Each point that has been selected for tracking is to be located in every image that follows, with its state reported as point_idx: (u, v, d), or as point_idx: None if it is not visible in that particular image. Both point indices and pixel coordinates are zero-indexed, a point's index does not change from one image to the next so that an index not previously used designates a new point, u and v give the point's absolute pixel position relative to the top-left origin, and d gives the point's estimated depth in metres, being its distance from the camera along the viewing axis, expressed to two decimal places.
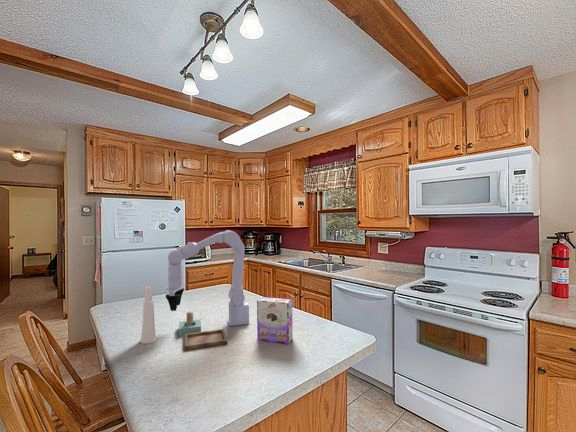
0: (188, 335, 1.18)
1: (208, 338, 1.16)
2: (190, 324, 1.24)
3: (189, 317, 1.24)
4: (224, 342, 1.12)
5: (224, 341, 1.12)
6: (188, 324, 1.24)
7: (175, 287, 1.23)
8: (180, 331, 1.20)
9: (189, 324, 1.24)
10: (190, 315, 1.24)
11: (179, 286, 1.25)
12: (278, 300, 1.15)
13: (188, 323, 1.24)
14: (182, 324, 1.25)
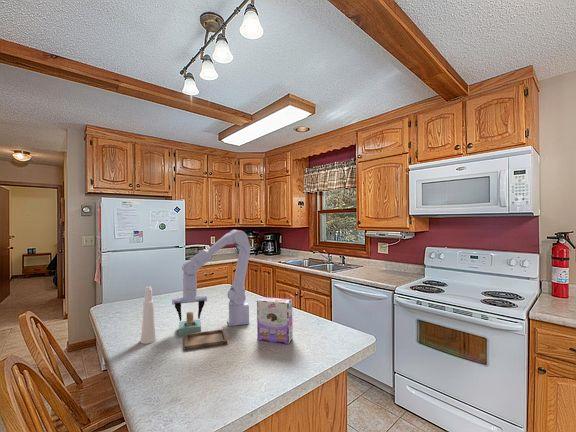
0: (188, 335, 1.18)
1: (208, 338, 1.16)
2: (190, 324, 1.24)
3: (189, 317, 1.24)
4: (224, 342, 1.12)
5: (224, 341, 1.12)
6: (188, 324, 1.24)
7: (183, 297, 1.24)
8: (180, 331, 1.20)
9: (189, 324, 1.24)
10: (190, 315, 1.24)
11: (185, 298, 1.23)
12: (278, 300, 1.15)
13: (188, 323, 1.24)
14: (182, 324, 1.25)
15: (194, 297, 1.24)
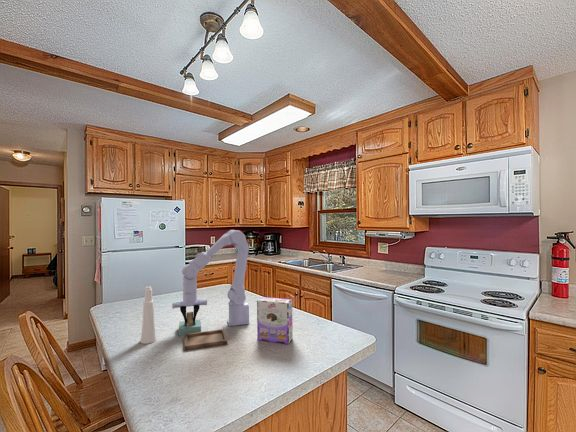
0: (188, 335, 1.18)
1: (208, 338, 1.16)
2: (190, 324, 1.24)
3: (189, 317, 1.24)
4: (224, 342, 1.12)
5: (224, 341, 1.12)
6: (188, 324, 1.24)
7: (183, 301, 1.24)
8: (180, 331, 1.20)
9: (189, 324, 1.24)
10: (190, 315, 1.24)
11: (185, 302, 1.23)
12: (278, 300, 1.15)
13: (188, 323, 1.24)
14: (182, 324, 1.25)
15: (194, 301, 1.24)
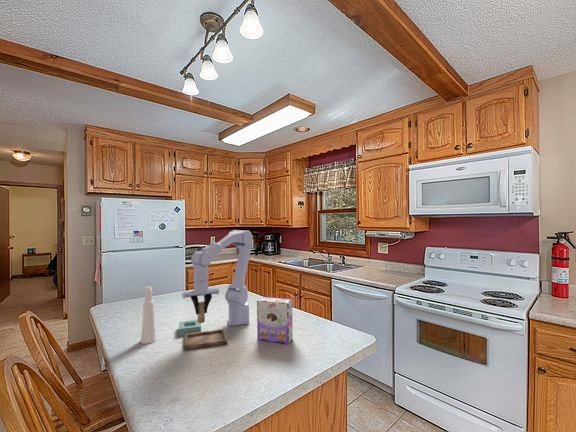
0: (188, 335, 1.18)
1: (208, 338, 1.16)
2: (202, 314, 1.17)
3: (201, 307, 1.17)
4: (224, 342, 1.12)
5: (224, 341, 1.12)
6: (200, 314, 1.17)
7: (194, 290, 1.16)
8: (180, 331, 1.20)
9: (201, 314, 1.17)
10: (202, 305, 1.17)
11: (197, 291, 1.15)
12: (278, 300, 1.15)
13: (200, 313, 1.17)
14: (182, 324, 1.25)
15: (206, 289, 1.17)
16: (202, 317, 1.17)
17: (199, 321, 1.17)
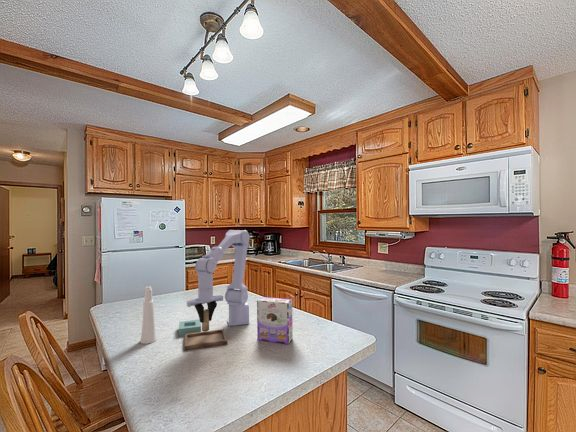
0: (188, 335, 1.18)
1: (208, 338, 1.16)
2: (207, 322, 1.14)
3: (206, 315, 1.14)
4: (224, 342, 1.12)
5: (224, 341, 1.12)
6: (205, 323, 1.14)
7: (199, 298, 1.13)
8: (180, 331, 1.20)
9: (206, 322, 1.14)
10: (207, 312, 1.14)
11: (202, 298, 1.12)
12: (278, 300, 1.15)
13: (205, 321, 1.14)
14: (182, 324, 1.25)
15: (212, 297, 1.15)
16: (207, 325, 1.14)
17: (204, 329, 1.14)
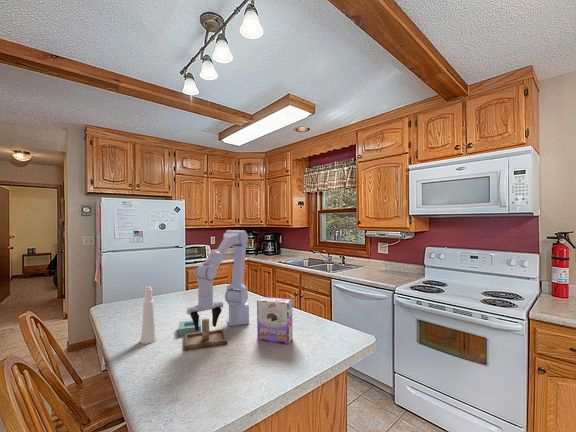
0: (188, 335, 1.18)
1: None
2: (207, 332, 1.14)
3: (206, 324, 1.14)
4: (224, 342, 1.12)
5: (224, 341, 1.12)
6: (205, 332, 1.14)
7: (199, 305, 1.13)
8: (180, 331, 1.20)
9: (206, 332, 1.14)
10: (207, 322, 1.14)
11: (203, 306, 1.12)
12: (278, 300, 1.15)
13: (205, 331, 1.14)
14: (182, 324, 1.25)
15: (212, 304, 1.15)
16: (207, 335, 1.14)
17: (204, 339, 1.14)
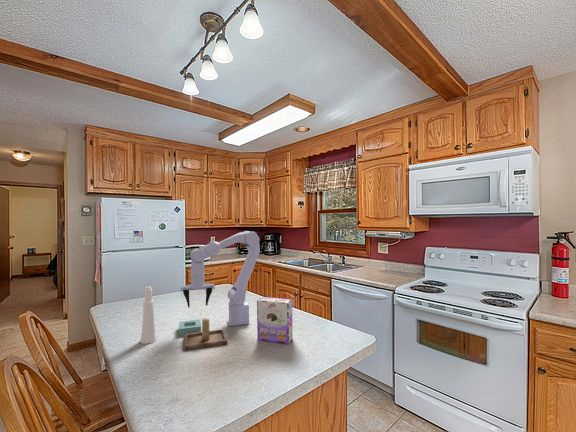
0: (188, 335, 1.18)
1: None
2: (207, 332, 1.14)
3: (206, 324, 1.14)
4: (224, 342, 1.12)
5: (224, 341, 1.12)
6: (205, 332, 1.14)
7: (191, 284, 1.26)
8: (180, 331, 1.20)
9: (206, 332, 1.14)
10: (207, 322, 1.14)
11: (193, 285, 1.25)
12: (278, 300, 1.15)
13: (205, 331, 1.14)
14: (182, 324, 1.25)
15: (202, 284, 1.26)
16: (207, 335, 1.14)
17: (204, 339, 1.14)
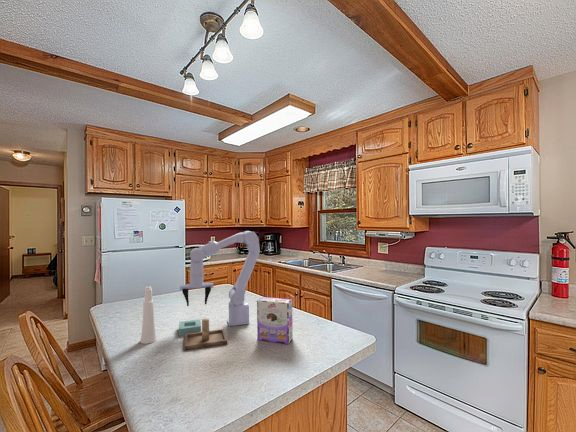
0: (188, 335, 1.18)
1: None
2: (207, 332, 1.14)
3: (206, 324, 1.14)
4: (224, 342, 1.12)
5: (224, 341, 1.12)
6: (205, 332, 1.14)
7: (190, 283, 1.28)
8: (180, 331, 1.20)
9: (206, 332, 1.14)
10: (207, 322, 1.14)
11: (192, 284, 1.27)
12: (278, 300, 1.15)
13: (205, 331, 1.14)
14: (182, 324, 1.25)
15: (201, 283, 1.28)
16: (207, 335, 1.14)
17: (204, 339, 1.14)
